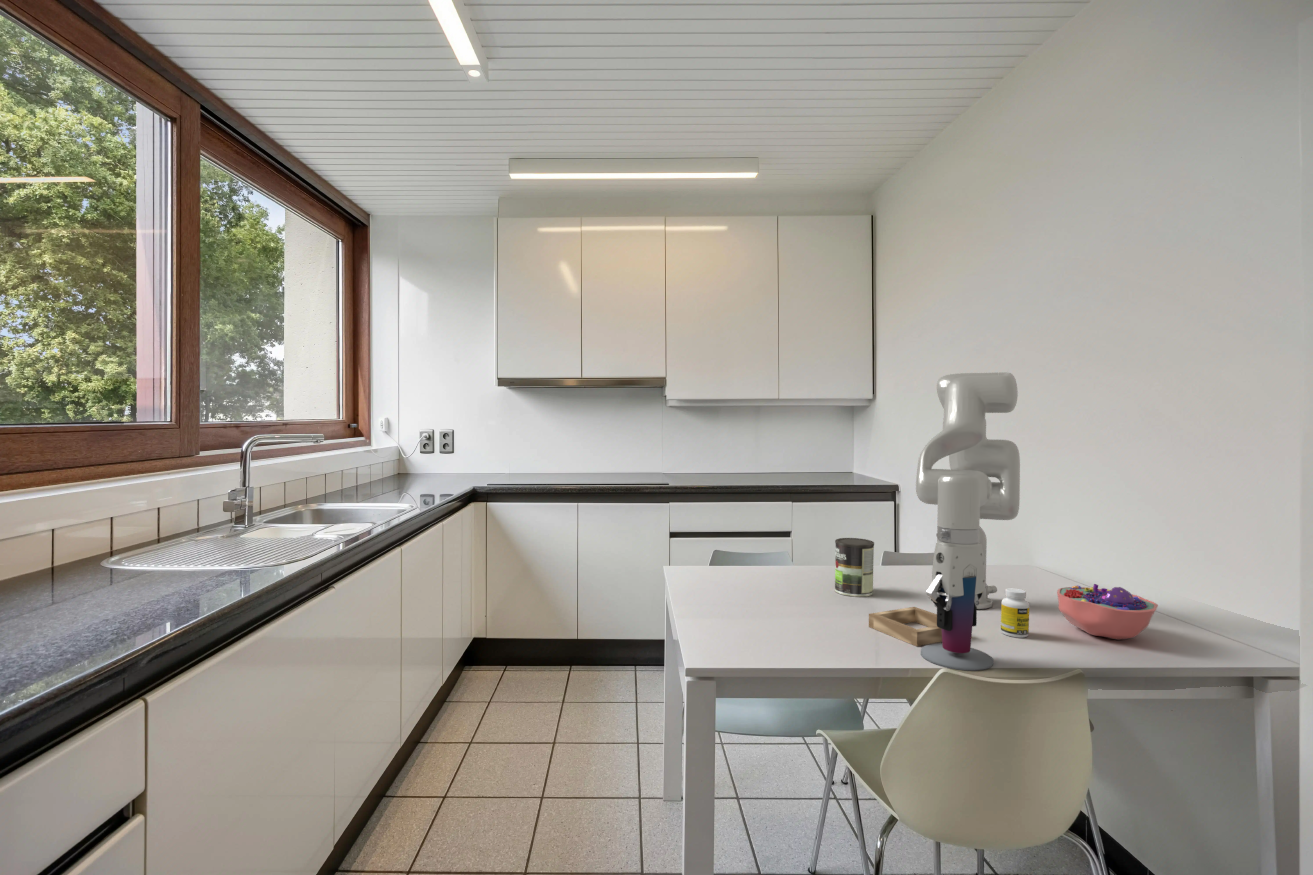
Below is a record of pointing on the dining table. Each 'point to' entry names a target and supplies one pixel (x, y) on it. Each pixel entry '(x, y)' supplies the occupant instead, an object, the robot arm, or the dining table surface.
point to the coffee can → (854, 567)
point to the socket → (895, 626)
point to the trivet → (957, 658)
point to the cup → (961, 619)
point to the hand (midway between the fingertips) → (956, 625)
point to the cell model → (1105, 611)
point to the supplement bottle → (1015, 613)
